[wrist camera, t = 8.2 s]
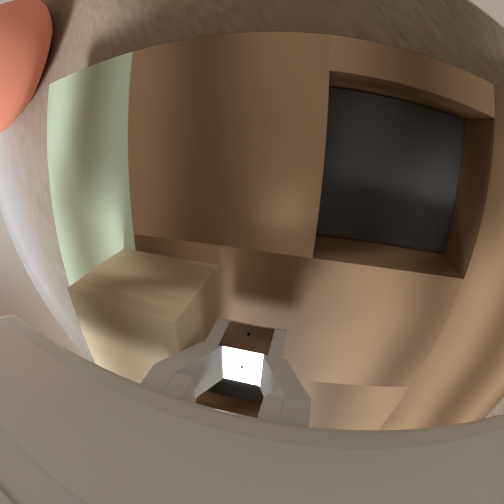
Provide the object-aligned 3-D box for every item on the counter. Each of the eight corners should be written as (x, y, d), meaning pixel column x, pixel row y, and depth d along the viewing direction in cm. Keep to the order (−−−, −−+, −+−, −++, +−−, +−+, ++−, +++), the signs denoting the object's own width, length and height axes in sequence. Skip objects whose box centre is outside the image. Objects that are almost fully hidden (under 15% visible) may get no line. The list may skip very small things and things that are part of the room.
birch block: (218, 264, 11) (174, 322, 8) (220, 350, 13) (191, 409, 10) (123, 248, 12) (67, 287, 9) (139, 327, 14) (100, 373, 11)
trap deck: (567, 153, 6) (594, 162, 3) (456, 415, 16) (462, 440, 13) (83, 85, 12) (49, 84, 9) (127, 370, 22) (111, 391, 19)
